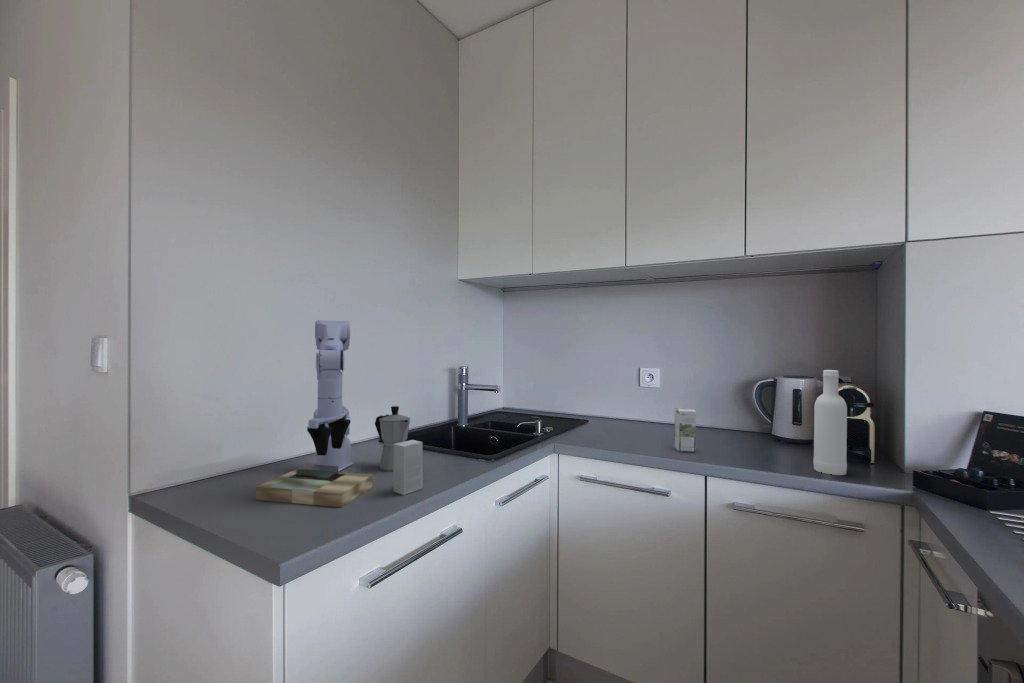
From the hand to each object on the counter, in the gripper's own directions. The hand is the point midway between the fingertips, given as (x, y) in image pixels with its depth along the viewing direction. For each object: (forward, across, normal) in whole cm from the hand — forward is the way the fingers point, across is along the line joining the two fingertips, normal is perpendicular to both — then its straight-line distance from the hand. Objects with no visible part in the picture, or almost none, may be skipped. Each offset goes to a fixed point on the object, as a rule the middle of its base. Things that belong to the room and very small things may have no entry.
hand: (329, 451), depth 106 cm
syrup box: (+10, -57, +100) cm, 115 cm away
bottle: (+10, -39, +136) cm, 142 cm away
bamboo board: (+9, +3, -1) cm, 10 cm away
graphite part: (+6, 0, -3) cm, 7 cm away
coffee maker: (+10, -21, +7) cm, 24 cm away
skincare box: (+10, -2, +20) cm, 22 cm away
